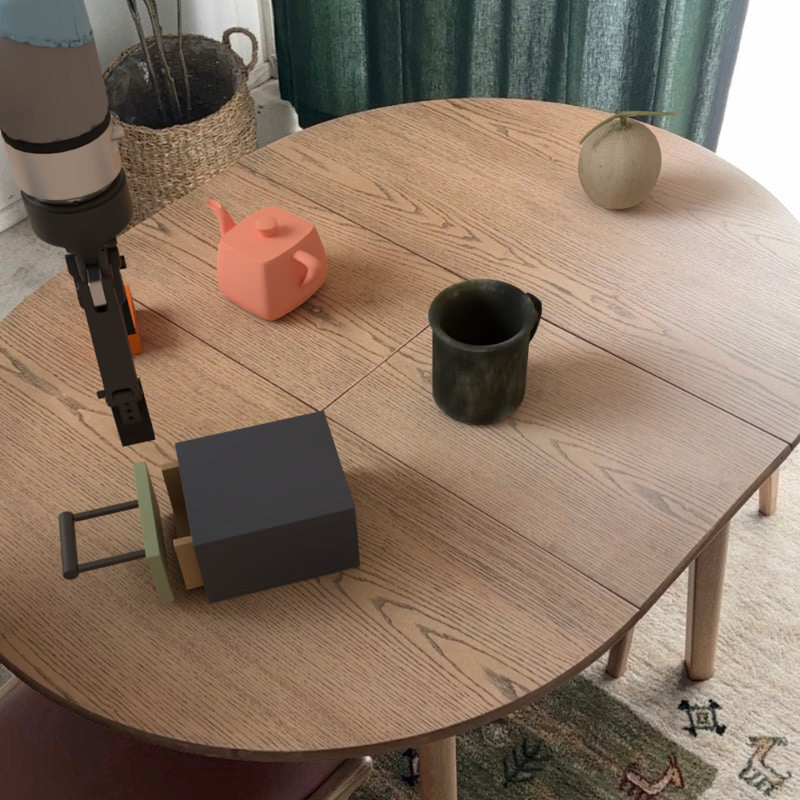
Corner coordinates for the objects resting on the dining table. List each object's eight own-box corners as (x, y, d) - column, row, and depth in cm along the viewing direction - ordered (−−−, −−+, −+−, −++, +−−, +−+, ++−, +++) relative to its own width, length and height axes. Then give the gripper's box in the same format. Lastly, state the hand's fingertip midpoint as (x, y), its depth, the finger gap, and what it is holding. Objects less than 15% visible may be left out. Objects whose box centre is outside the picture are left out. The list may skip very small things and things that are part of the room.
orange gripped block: (99, 362, 122) (91, 336, 119) (93, 318, 128) (85, 292, 125) (142, 353, 123) (135, 327, 120) (135, 309, 128) (128, 284, 126)
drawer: (77, 625, 97) (56, 579, 91) (69, 529, 104) (49, 481, 99) (304, 569, 100) (297, 522, 95) (280, 480, 108) (272, 432, 103)
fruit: (556, 187, 144) (566, 87, 133) (634, 173, 146) (650, 73, 135) (585, 232, 137) (598, 130, 126) (667, 216, 139) (687, 115, 128)
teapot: (293, 343, 124) (283, 274, 116) (186, 284, 132) (171, 215, 124) (356, 292, 130) (351, 223, 122) (251, 238, 138) (240, 170, 130)
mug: (407, 394, 117) (405, 312, 109) (498, 332, 124) (503, 250, 115) (478, 447, 112) (482, 365, 103) (569, 378, 118) (579, 296, 110)
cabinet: (209, 604, 99) (193, 545, 92) (190, 502, 107) (174, 442, 101) (360, 566, 101) (355, 507, 95) (330, 470, 110) (323, 410, 103)
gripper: (145, 270, 69) (194, 480, 84) (106, 85, 86) (153, 288, 101) (27, 293, 68) (99, 502, 83) (11, 100, 84) (73, 303, 100)
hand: (129, 384), depth 92 cm, fingers open, 13 cm apart
